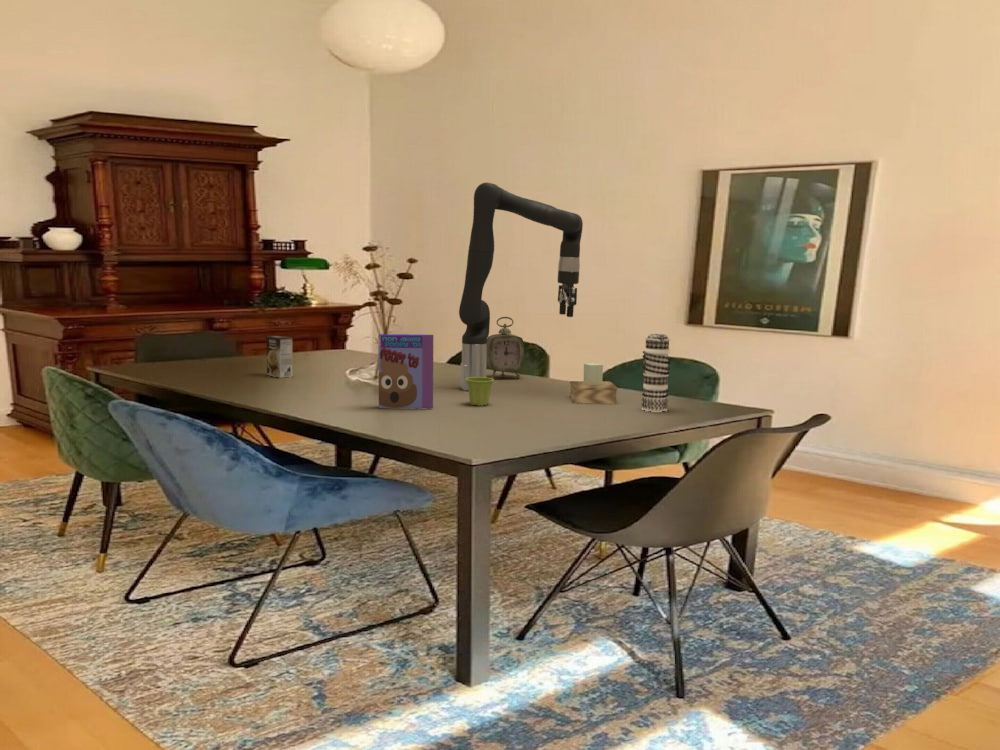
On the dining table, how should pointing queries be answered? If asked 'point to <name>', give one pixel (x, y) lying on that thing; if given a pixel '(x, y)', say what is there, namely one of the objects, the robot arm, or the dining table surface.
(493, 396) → the dining table surface
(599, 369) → the sage block
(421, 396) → the cereal box
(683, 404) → the dining table surface
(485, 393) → the plant pot
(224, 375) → the dining table surface
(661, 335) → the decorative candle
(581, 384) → the oak box
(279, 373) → the coffee box
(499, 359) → the tabletop clock
